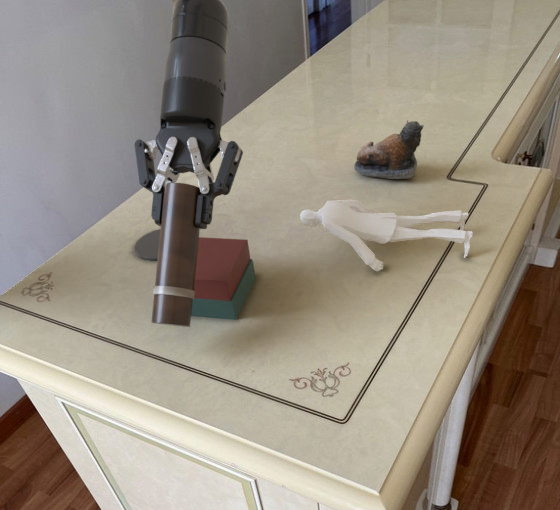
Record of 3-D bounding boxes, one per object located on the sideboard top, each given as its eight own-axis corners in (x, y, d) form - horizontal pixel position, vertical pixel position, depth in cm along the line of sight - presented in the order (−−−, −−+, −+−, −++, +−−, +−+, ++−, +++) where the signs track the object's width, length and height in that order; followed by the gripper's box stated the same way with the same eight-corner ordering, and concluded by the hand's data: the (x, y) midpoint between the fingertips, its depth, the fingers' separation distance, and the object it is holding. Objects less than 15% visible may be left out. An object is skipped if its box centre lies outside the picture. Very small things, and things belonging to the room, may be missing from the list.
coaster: (124, 253, 97) (123, 250, 97) (160, 226, 102) (160, 223, 102) (164, 267, 93) (163, 264, 93) (200, 238, 98) (199, 235, 98)
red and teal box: (194, 273, 91) (184, 236, 86) (255, 277, 88) (249, 239, 84) (170, 314, 84) (158, 276, 80) (236, 320, 82) (228, 281, 77)
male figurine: (454, 232, 95) (301, 216, 96) (465, 197, 91) (304, 181, 91) (464, 283, 86) (294, 265, 86) (476, 247, 81) (297, 229, 82)
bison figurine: (349, 180, 107) (348, 124, 100) (363, 162, 111) (363, 108, 104) (413, 189, 102) (416, 132, 95) (425, 170, 106) (430, 114, 99)
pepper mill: (192, 270, 84) (167, 169, 74) (225, 272, 83) (205, 170, 72) (150, 341, 74) (114, 236, 63) (187, 345, 73) (157, 239, 62)
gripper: (127, 74, 71) (113, 216, 71) (239, 73, 67) (224, 221, 68) (155, 102, 78) (142, 230, 78) (258, 102, 75) (244, 236, 75)
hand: (180, 225), depth 73 cm, fingers closed on pepper mill, 5 cm apart
